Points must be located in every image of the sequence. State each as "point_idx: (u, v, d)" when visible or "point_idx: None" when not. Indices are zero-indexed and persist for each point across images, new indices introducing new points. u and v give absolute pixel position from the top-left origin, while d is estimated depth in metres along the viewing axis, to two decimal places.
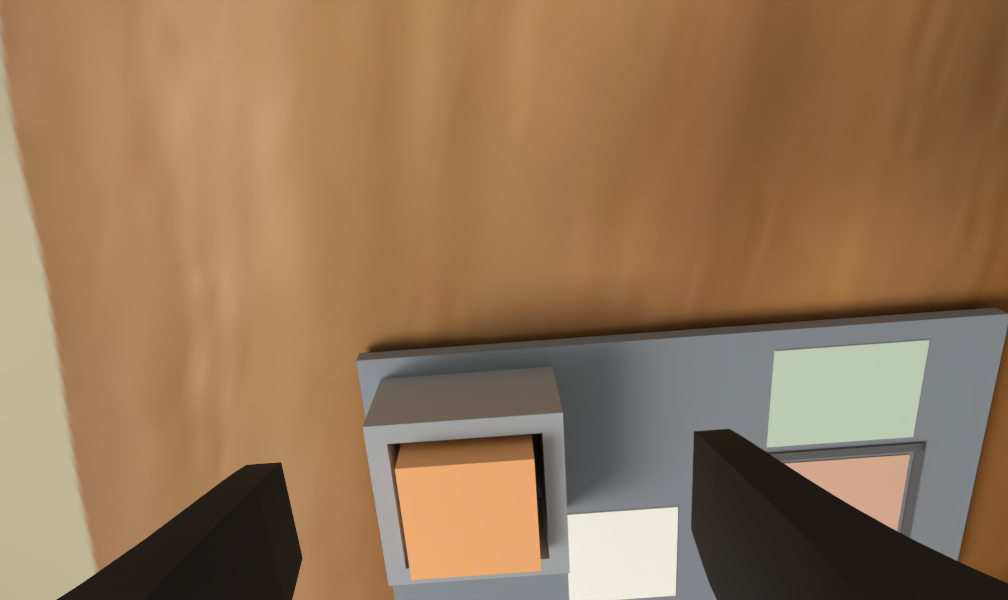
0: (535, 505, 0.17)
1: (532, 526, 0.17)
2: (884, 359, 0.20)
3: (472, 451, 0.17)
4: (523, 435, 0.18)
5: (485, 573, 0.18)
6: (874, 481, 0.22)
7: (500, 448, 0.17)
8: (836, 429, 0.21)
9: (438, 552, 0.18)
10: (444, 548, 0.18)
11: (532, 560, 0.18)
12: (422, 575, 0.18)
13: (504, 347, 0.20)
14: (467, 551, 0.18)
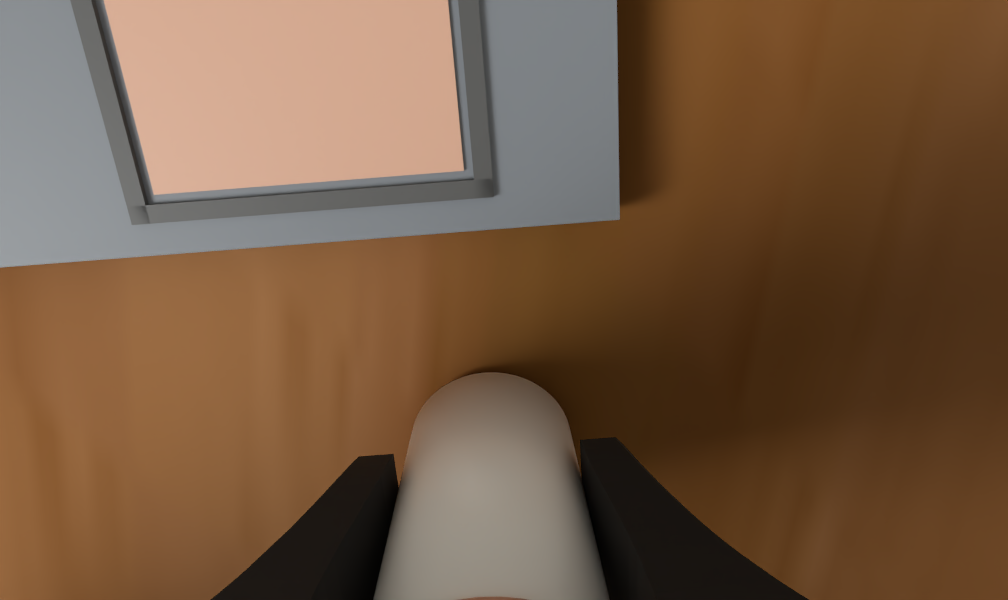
0: None
1: None
2: None
3: None
4: None
5: None
6: None
7: None
8: None
9: None
10: None
11: None
12: None
13: None
14: None
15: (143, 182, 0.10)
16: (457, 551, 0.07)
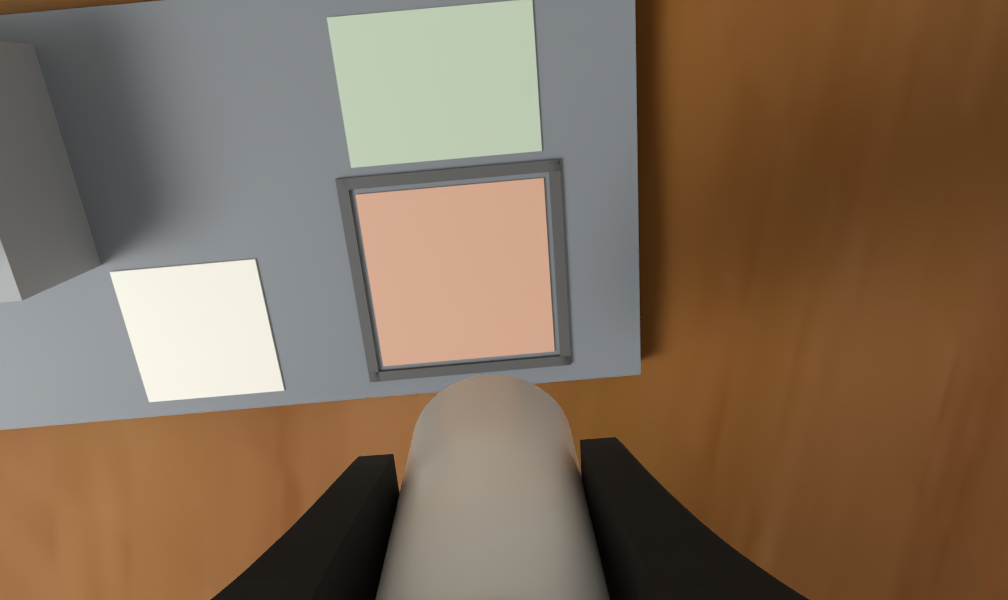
0: None
1: None
2: (478, 31, 0.15)
3: None
4: None
5: None
6: (506, 220, 0.17)
7: None
8: (437, 139, 0.16)
9: None
10: None
11: None
12: None
13: None
14: None
15: (378, 360, 0.18)
16: (456, 555, 0.07)
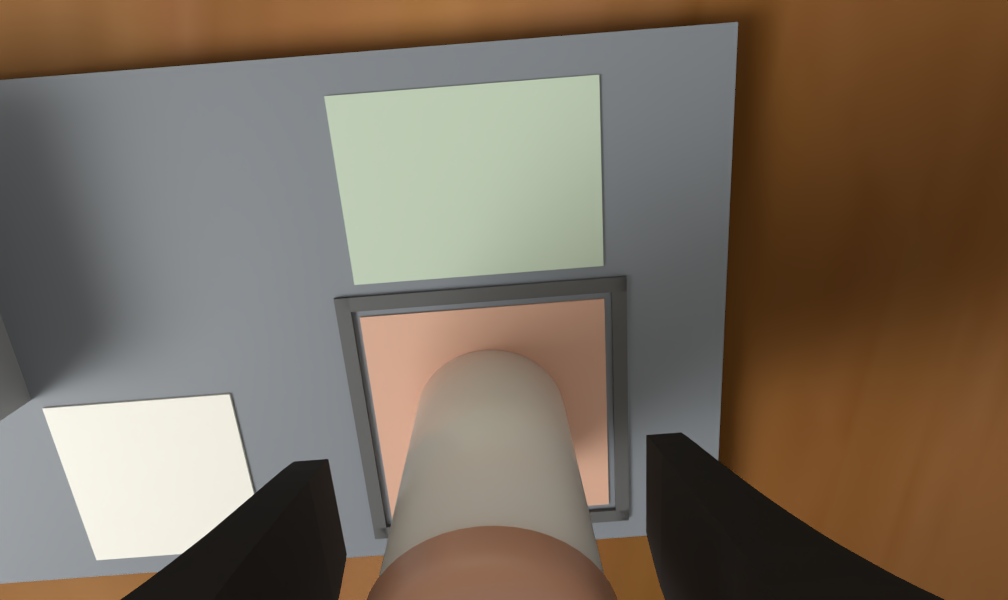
0: None
1: None
2: (525, 115, 0.11)
3: None
4: None
5: None
6: (553, 349, 0.13)
7: None
8: (467, 251, 0.12)
9: None
10: None
11: None
12: None
13: None
14: None
15: (386, 513, 0.14)
16: (459, 494, 0.08)
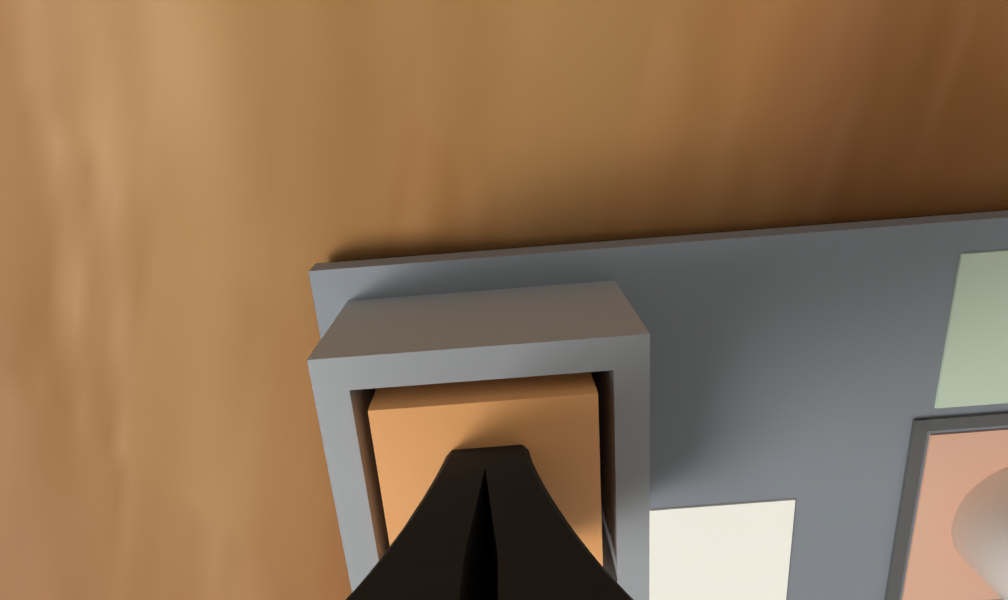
0: (597, 471, 0.11)
1: (591, 507, 0.11)
2: None
3: (494, 386, 0.11)
4: None
5: None
6: None
7: (539, 380, 0.11)
8: None
9: None
10: None
11: None
12: None
13: (539, 250, 0.13)
14: None
15: None
16: None
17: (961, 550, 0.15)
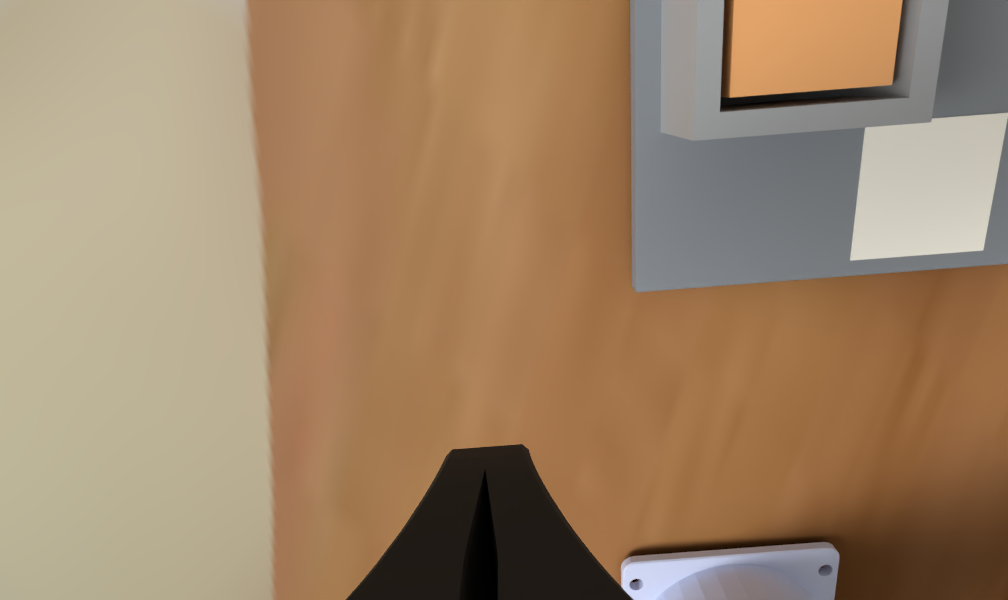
0: None
1: (894, 11, 0.14)
2: None
3: None
4: None
5: (823, 86, 0.14)
6: None
7: None
8: None
9: (770, 52, 0.14)
10: (779, 45, 0.14)
11: (884, 67, 0.14)
12: (745, 89, 0.14)
13: None
14: (806, 50, 0.14)
15: None
16: None
17: None
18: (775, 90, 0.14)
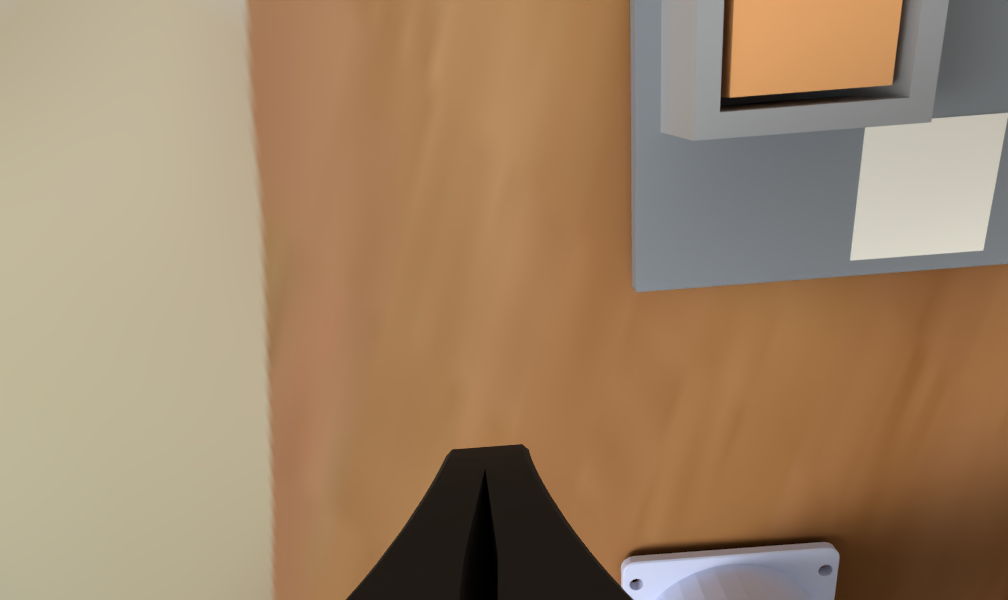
0: None
1: (894, 11, 0.14)
2: None
3: None
4: None
5: (823, 86, 0.14)
6: None
7: None
8: None
9: (770, 52, 0.14)
10: (779, 45, 0.14)
11: (884, 67, 0.14)
12: (745, 89, 0.14)
13: None
14: (806, 50, 0.14)
15: None
16: None
17: None
18: (775, 90, 0.14)
